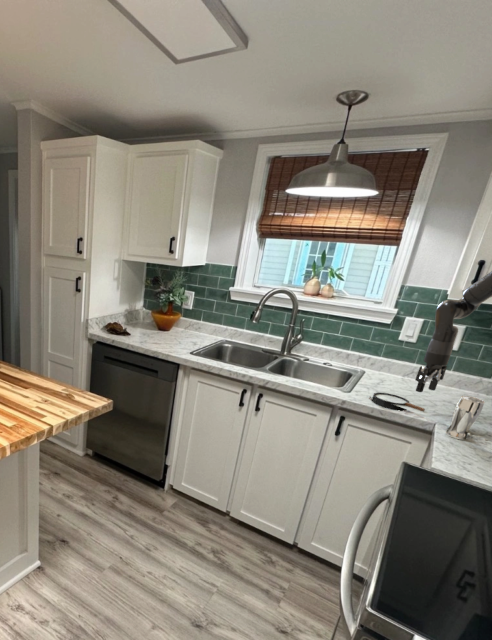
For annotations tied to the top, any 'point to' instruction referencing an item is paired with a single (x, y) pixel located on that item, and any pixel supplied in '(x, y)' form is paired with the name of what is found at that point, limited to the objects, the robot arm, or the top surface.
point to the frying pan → (391, 405)
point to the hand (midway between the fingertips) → (425, 390)
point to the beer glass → (464, 416)
